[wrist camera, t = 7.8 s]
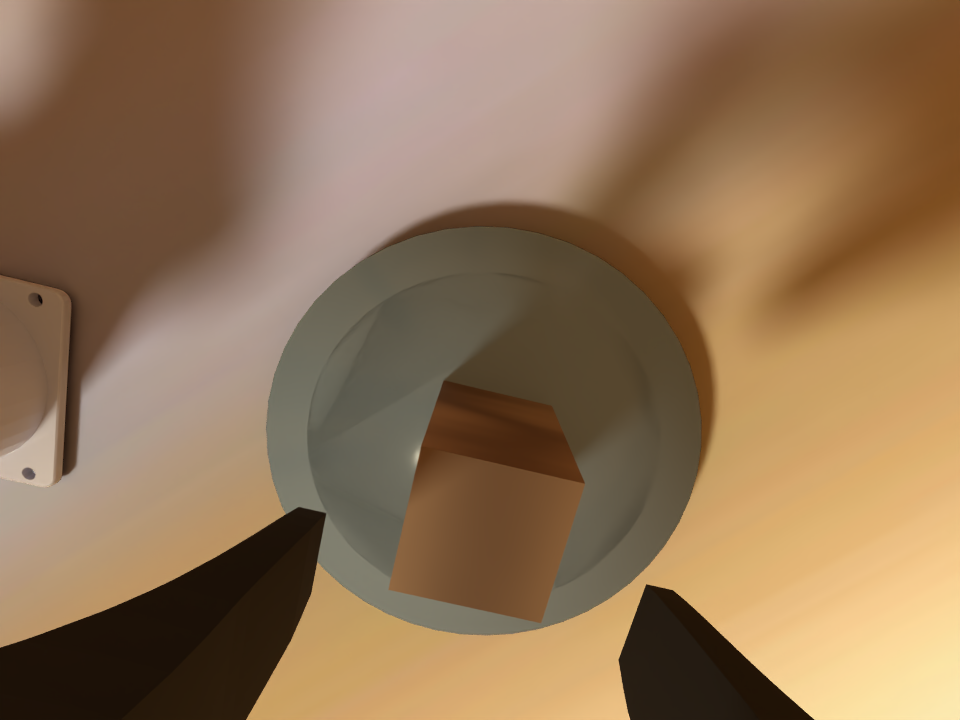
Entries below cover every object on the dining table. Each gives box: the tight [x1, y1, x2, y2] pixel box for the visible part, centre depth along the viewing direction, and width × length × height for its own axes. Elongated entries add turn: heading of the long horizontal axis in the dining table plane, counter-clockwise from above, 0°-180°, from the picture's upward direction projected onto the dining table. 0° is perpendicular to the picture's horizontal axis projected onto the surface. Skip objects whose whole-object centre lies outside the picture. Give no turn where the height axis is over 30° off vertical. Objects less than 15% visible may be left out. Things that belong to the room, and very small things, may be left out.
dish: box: [266, 226, 701, 635], centre depth 18 cm, size 16×16×1 cm
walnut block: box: [388, 380, 585, 623], centre depth 15 cm, size 4×4×6 cm
